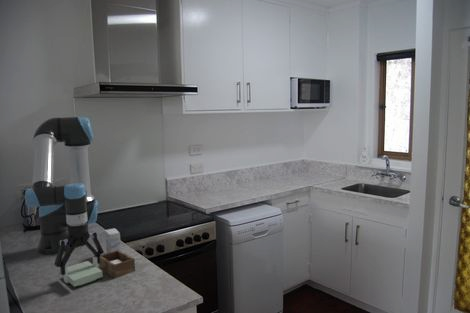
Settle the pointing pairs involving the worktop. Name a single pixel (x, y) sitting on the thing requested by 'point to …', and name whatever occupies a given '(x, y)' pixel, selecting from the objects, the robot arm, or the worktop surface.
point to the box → (120, 268)
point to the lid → (83, 273)
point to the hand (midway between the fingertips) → (81, 276)
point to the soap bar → (116, 261)
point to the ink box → (112, 240)
